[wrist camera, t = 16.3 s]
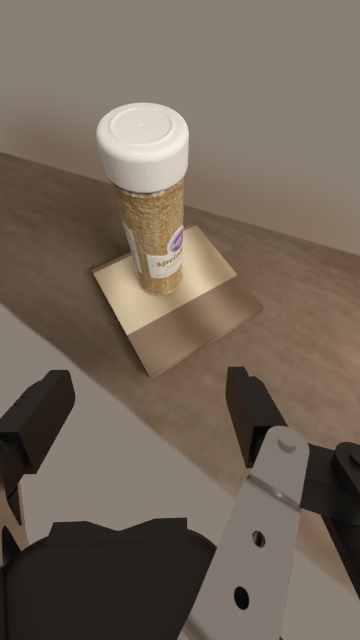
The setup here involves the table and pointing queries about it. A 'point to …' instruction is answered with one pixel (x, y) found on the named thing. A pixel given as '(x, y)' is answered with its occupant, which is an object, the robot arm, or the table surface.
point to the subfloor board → (178, 304)
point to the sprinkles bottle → (148, 187)
